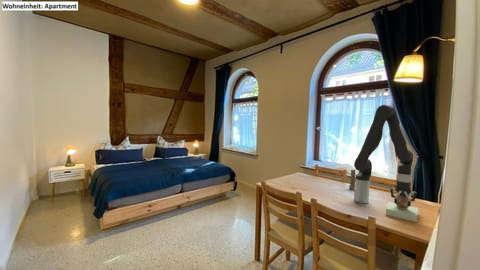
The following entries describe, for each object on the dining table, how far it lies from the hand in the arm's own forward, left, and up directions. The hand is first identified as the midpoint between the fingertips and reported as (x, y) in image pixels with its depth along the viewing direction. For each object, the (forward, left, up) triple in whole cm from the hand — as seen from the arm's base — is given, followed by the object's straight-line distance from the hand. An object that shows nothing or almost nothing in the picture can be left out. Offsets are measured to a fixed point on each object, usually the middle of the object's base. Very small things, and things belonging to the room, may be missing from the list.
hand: (402, 205), depth 140 cm
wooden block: (-35, +38, -6) cm, 52 cm away
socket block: (0, 0, -6) cm, 6 cm away
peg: (0, 0, -5) cm, 5 cm away
